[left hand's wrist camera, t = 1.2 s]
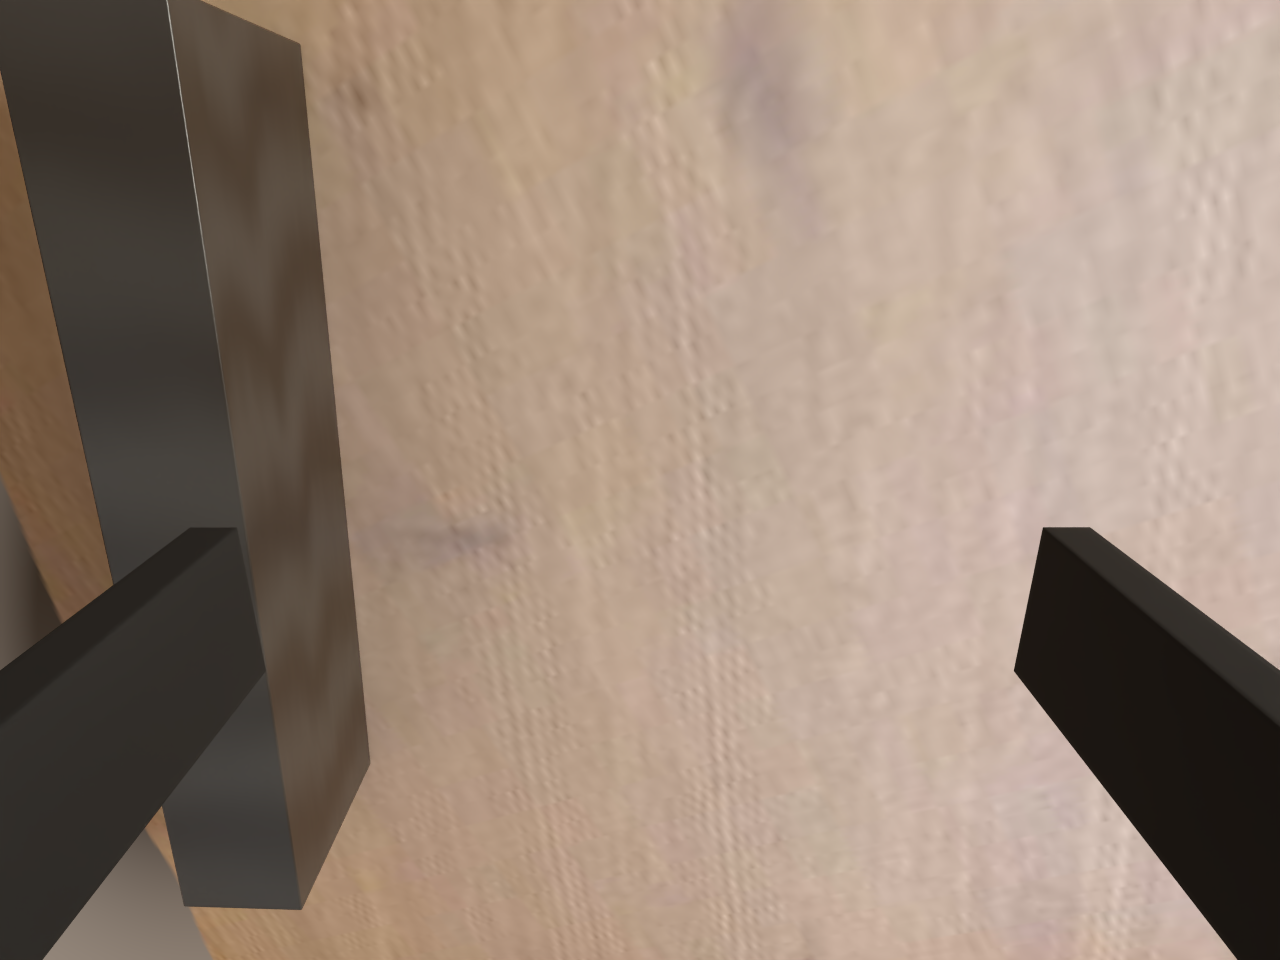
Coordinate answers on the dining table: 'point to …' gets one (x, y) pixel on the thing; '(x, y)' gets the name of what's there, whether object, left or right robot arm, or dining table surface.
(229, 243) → the beam
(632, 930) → the dining table surface
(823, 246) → the dining table surface
